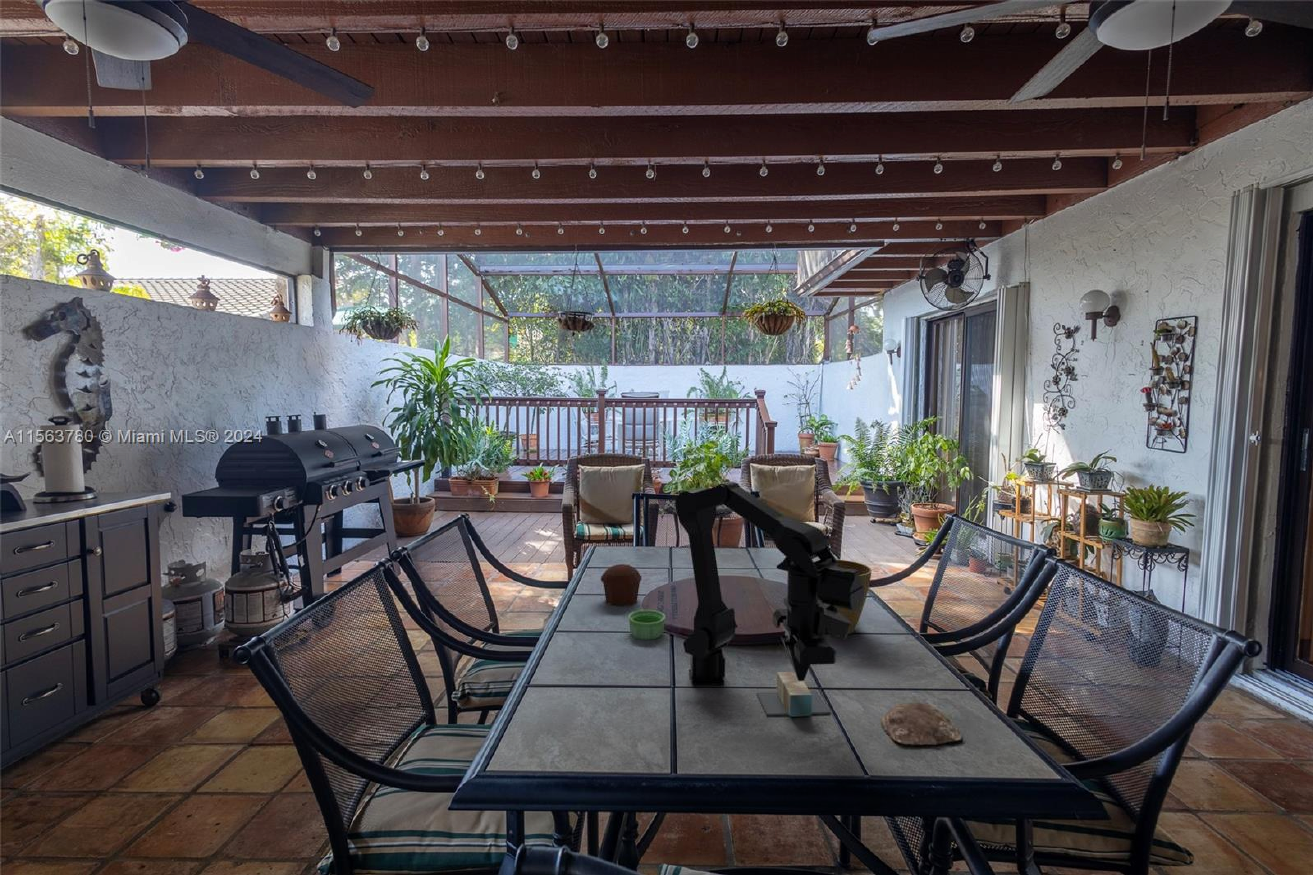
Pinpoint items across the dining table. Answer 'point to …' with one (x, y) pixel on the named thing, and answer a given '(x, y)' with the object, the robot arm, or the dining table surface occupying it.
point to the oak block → (794, 694)
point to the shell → (920, 726)
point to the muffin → (621, 585)
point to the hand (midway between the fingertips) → (800, 680)
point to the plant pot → (865, 576)
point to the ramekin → (646, 624)
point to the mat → (776, 707)
